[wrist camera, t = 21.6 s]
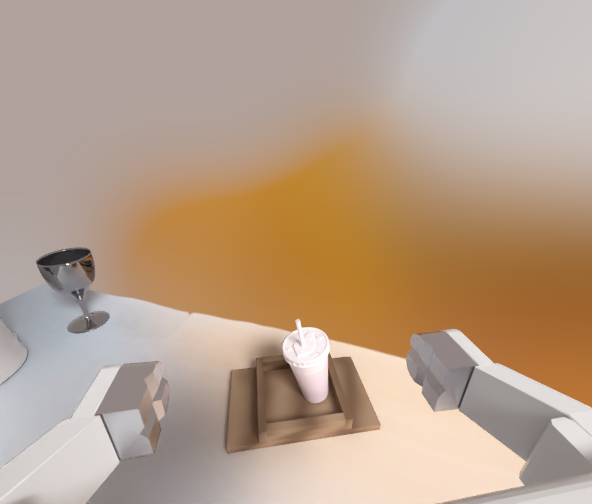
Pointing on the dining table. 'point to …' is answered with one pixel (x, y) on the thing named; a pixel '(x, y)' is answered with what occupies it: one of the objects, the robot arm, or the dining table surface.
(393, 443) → the dining table surface
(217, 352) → the dining table surface
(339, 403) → the tray
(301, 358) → the smoothie
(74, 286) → the wine glass
